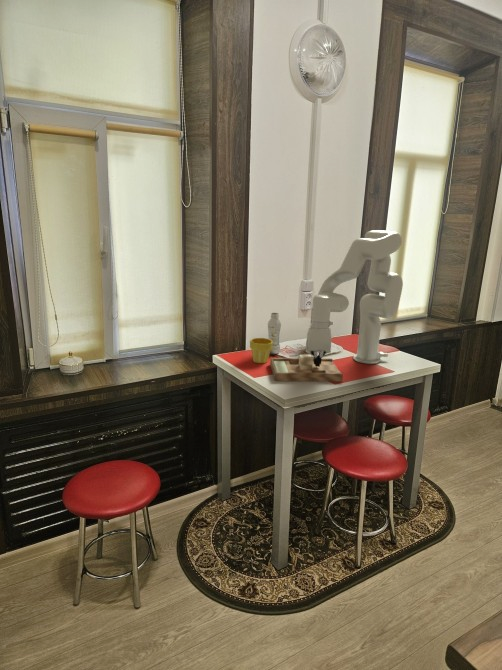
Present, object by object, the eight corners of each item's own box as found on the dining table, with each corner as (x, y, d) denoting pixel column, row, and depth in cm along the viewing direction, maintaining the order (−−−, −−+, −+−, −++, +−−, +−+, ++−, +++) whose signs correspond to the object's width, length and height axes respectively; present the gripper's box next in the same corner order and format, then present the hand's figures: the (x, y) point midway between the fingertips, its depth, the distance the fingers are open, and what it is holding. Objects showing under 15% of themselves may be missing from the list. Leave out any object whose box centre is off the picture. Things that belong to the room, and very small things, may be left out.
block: (309, 365, 191) (310, 354, 190) (312, 369, 186) (313, 358, 185) (298, 365, 191) (299, 354, 189) (300, 369, 186) (301, 358, 185)
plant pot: (272, 358, 207) (273, 338, 204) (270, 365, 197) (271, 344, 194) (250, 356, 208) (251, 336, 205) (248, 363, 198) (248, 343, 195)
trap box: (331, 365, 199) (332, 358, 198) (342, 381, 181) (342, 373, 180) (270, 365, 197) (270, 357, 196) (274, 380, 179) (275, 373, 178)
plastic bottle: (270, 356, 209) (272, 315, 204) (264, 352, 215) (265, 312, 210) (282, 354, 212) (284, 314, 206) (275, 350, 218) (277, 311, 212)
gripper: (335, 322, 188) (332, 362, 193) (301, 322, 187) (298, 362, 192) (340, 327, 180) (336, 368, 185) (304, 326, 179) (301, 368, 184)
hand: (317, 365), depth 188 cm, fingers closed
